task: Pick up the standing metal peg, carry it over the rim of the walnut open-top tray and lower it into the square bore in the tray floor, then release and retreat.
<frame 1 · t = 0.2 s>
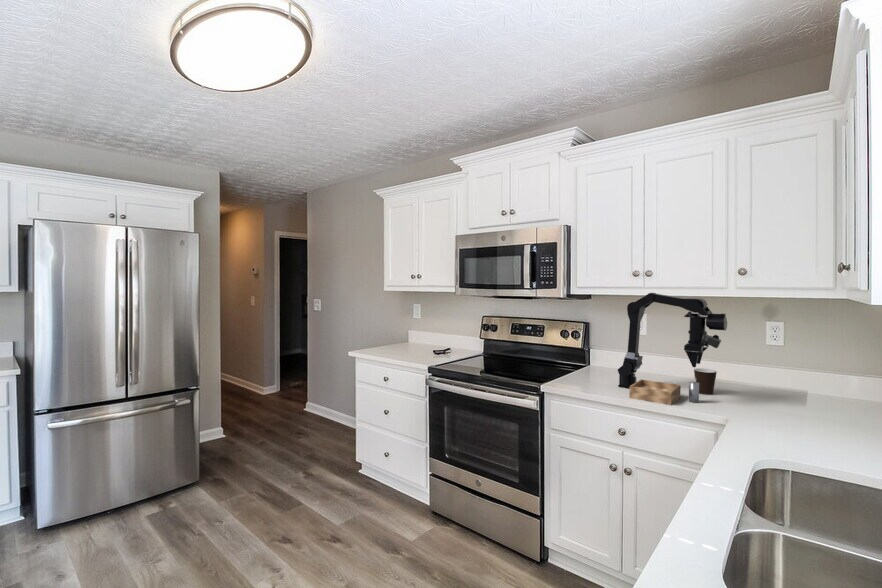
hand: (696, 365, 188), 14 cm above the worktop, fingers open, 9 cm apart
tray: (655, 397, 190), on the worktop
peg: (693, 401, 184), on the worktop
coffee mug: (705, 392, 198), on the worktop
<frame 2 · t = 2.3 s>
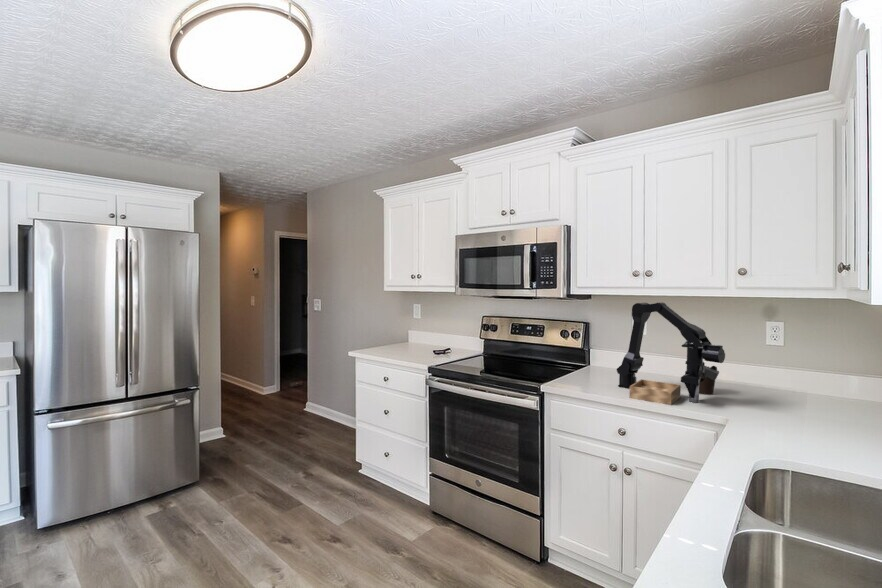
hand: (693, 396, 183), 2 cm above the worktop, fingers closed on peg, 4 cm apart
peg: (693, 401, 184), on the worktop, touching gripper
everything else where it was.
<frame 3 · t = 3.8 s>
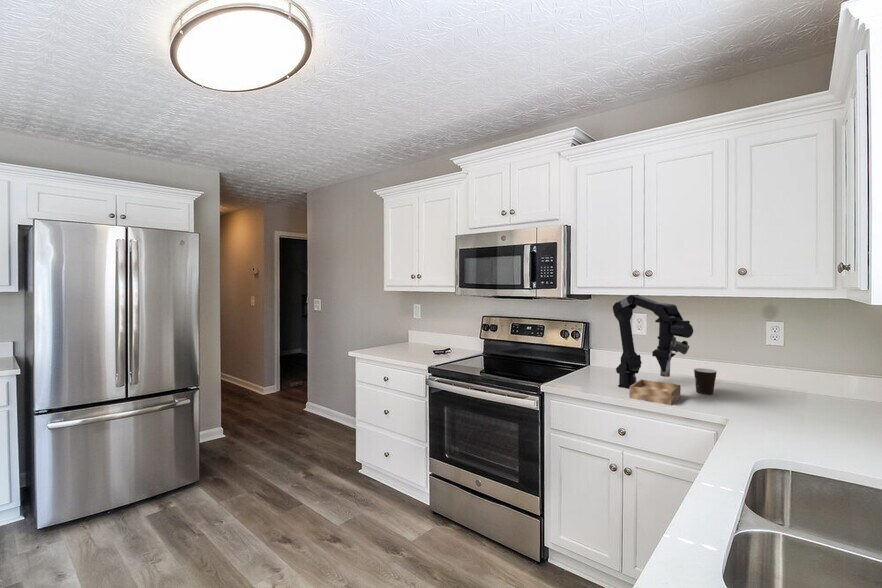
hand: (665, 371, 188), 12 cm above the worktop, fingers closed on peg, 4 cm apart
peg: (665, 375, 188), point 10 cm above the worktop, touching gripper
everything else where it was.
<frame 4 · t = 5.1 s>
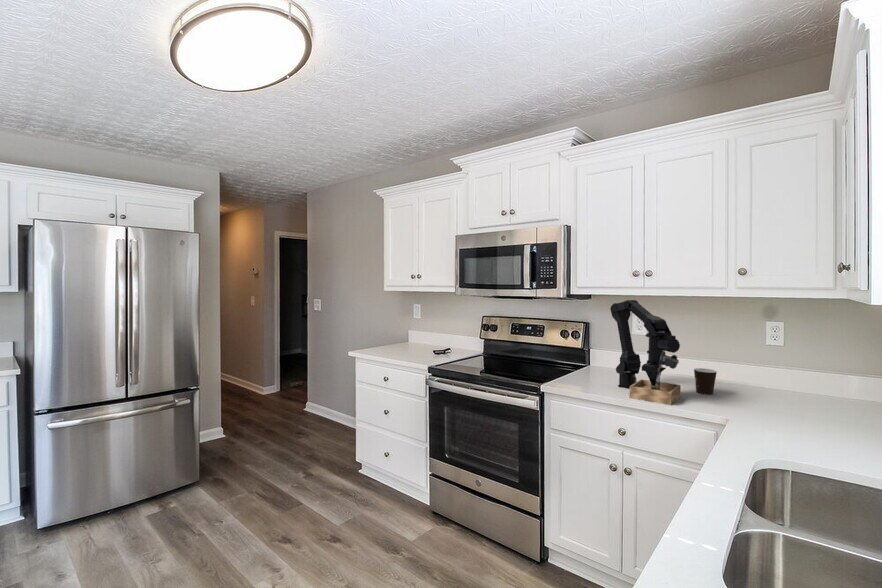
hand: (655, 385, 190), 5 cm above the worktop, fingers closed on peg, 4 cm apart
peg: (655, 389, 190), point 3 cm above the worktop, touching gripper
everything else where it was.
when the fingers open (3 cm above the worktop, at t = 5.7 s): peg drops 1 cm, resting in tray.
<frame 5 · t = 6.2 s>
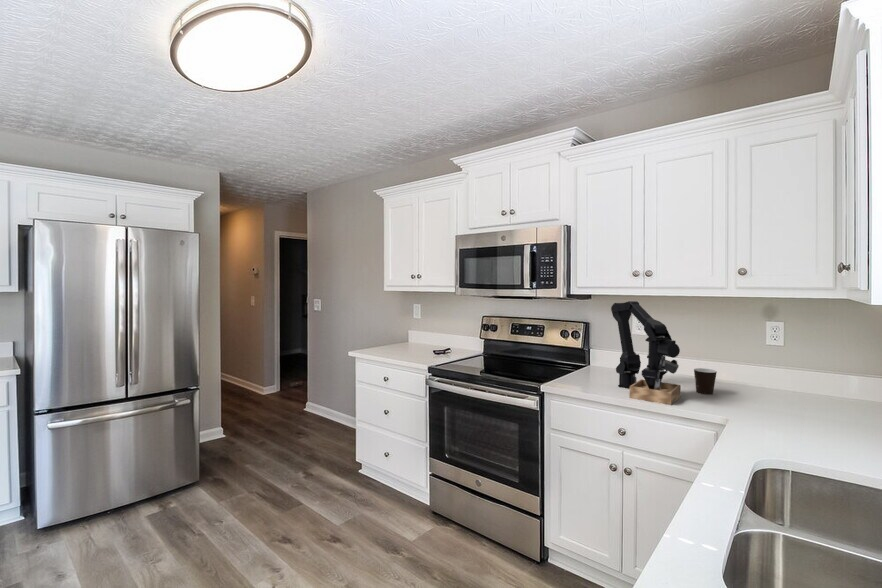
hand: (655, 389, 190), 3 cm above the worktop, fingers open, 9 cm apart
peg: (655, 397, 190), resting in tray
everything else where it was.
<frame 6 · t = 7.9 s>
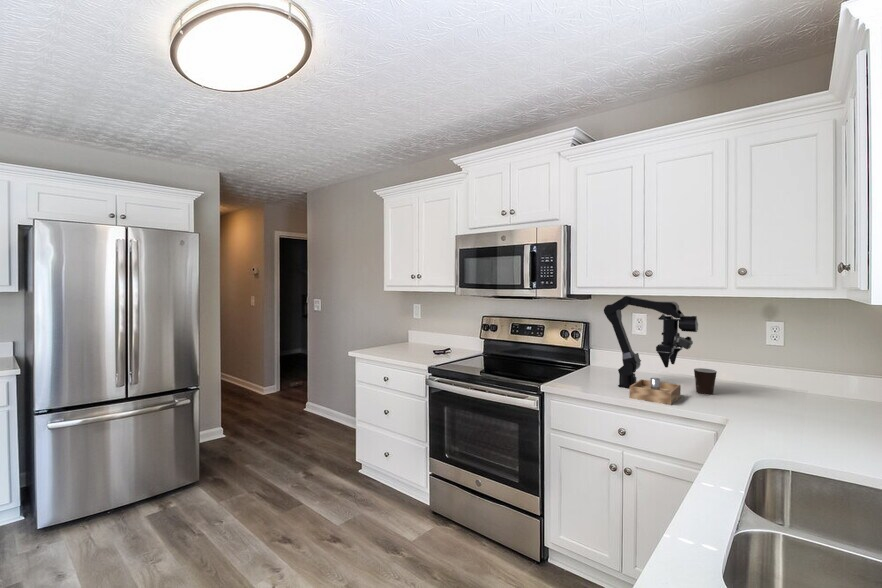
hand: (669, 365, 196), 12 cm above the worktop, fingers open, 9 cm apart
nothing on the worktop moved.
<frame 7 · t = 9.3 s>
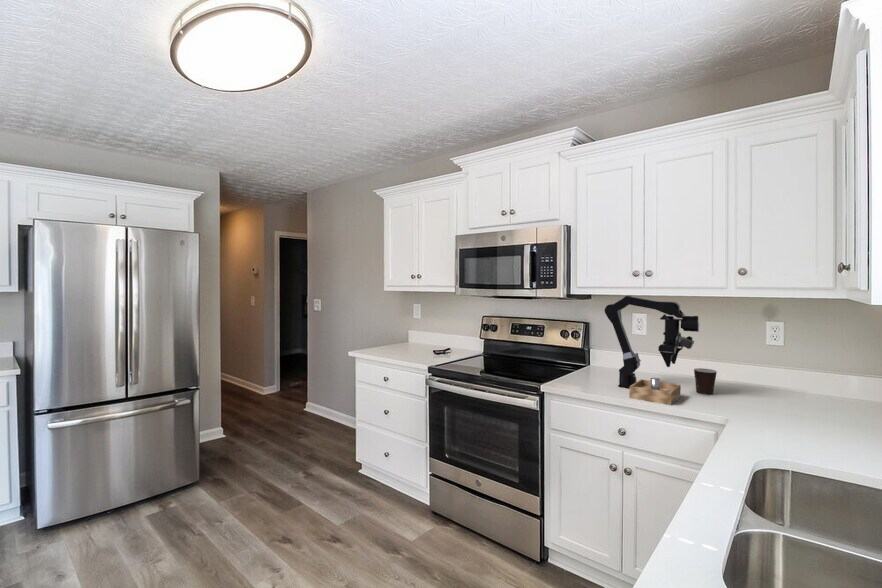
hand: (671, 365, 198), 12 cm above the worktop, fingers open, 9 cm apart
nothing on the worktop moved.
at the end: peg 0.0 cm off-centre on the tray, point 0.0 cm above the tray's base; peg tilted 0°; the gripper is holding nothing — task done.
